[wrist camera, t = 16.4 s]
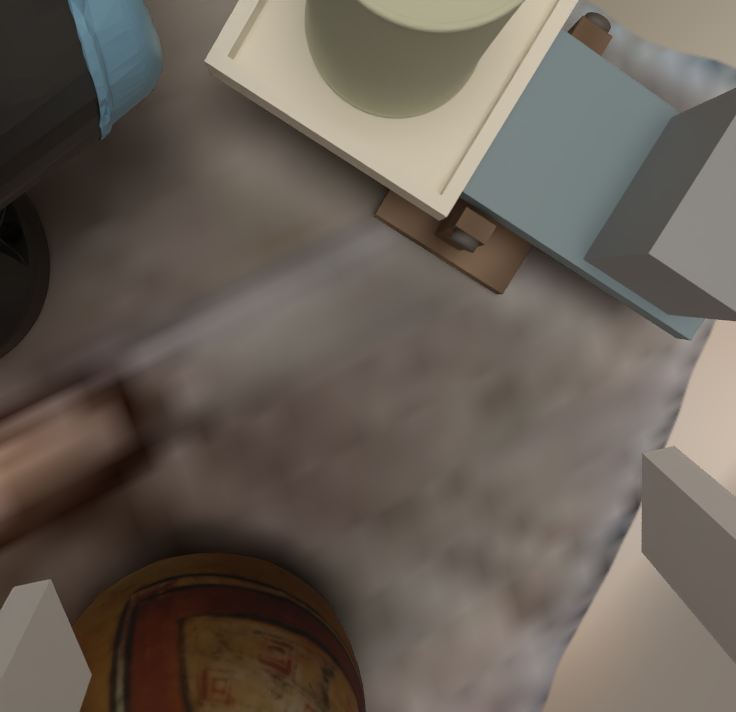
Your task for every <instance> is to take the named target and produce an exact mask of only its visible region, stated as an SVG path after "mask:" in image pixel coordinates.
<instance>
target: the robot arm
mask: <svg viewBox="0 0 736 712" xmlns="http://www.w3.org/2000/svg"><path fill="white" fill-rule="evenodd" d="M162 66H163V55H162V48H161V44H160V40H159V37H158V34H157V31H156V28H155V26H154V23H153V21H152V18H151V16H150V14H149V11H148V9H147V7H146V5H145V2H144V0H0V357H2V356H3V355H5V354H6V353H7V352H9V351H10V350H11V349H12V348H13V347H15V346H16V345H17V344H18V343H19V342H20V341H21V339H22V338H23V337H24V336H25V335H26V334H27V332H28V331H29V330H30V328H31V327H32V325H33V323H34V322H35V320H36V318H37V316H38V314H39V312H40V310H41V308H42V305H43V302H44V299H45V296H46V292H47V287H48V281H49V252H48V246H47V241H46V237H45V233H44V230H43V227H42V224H41V222H40V219H39V217H38V215H37V213H36V211H35V209H34V207H33V206H32V204H31V202H30V201H29V199H28V198H27V196H26V195H25V192H26V191H27V190H29V189H30V188H32V187H33V186H34V185H36V184H37V183H38V182H40V181H41V180H43V179H44V178H45V177H47V176H48V175H49V174H51V173H52V172H54V171H55V170H56V169H58V168H59V167H60V166H62V165H63V164H65V163H66V162H67V161H69V160H70V159H71V158H73V157H74V156H75V155H77V154H78V153H80V152H81V151H82V150H84V149H85V148H86V147H88V146H89V145H91V144H92V143H93V142H95V141H96V140H103V139H104V138H106V135H108V134H109V133H110V132H111V129H112V125H113V124H114V123H115V122H117V121H118V120H119V119H120V118H121V117H122V116H124V115H125V114H126V113H127V112H128V111H130V110H131V109H132V108H133V107H134V106H136V105H137V104H138V103H139V102H140V101H142V100H143V99H144V98H145V97H146V96H148V95H149V94H150V93H151V92H152V91H153V88H154V87H155V85H156V83H157V82H158V77H159V75H160V73H161V71H162ZM642 553H643V554H644V555H645V556H646V557H647V559H648V560H649V561H650V562H651V563H652V564H653V566H654V567H655V568H656V569H657V571H658V572H659V573H660V574H661V575H662V577H663V578H664V579H665V580H666V581H667V582H668V584H669V585H670V586H671V587H672V589H673V590H674V591H675V592H676V593H677V595H678V596H679V597H680V598H681V599H682V600H683V602H684V603H685V604H686V605H687V606H688V608H689V609H690V610H691V611H692V612H693V614H695V616H696V617H697V618H698V620H699V621H700V622H701V623H702V624H703V625H704V627H705V628H706V629H707V630H708V632H709V633H710V634H711V635H712V636H713V638H714V639H715V640H716V641H717V642H718V644H719V645H720V646H721V647H722V648H723V649H724V651H725V652H726V653H727V654H728V655H729V657H730V658H731V659H732V660H733V661H734V663H735V664H736V497H735V496H734V495H733V494H731V493H730V492H729V491H728V490H726V489H725V488H724V487H723V486H722V485H720V484H719V483H718V482H717V481H716V480H715V479H713V478H712V477H711V476H710V475H708V474H707V473H706V472H705V471H704V470H702V469H701V468H700V467H699V466H698V465H696V464H695V463H694V462H693V461H692V460H690V459H689V458H688V457H687V456H686V455H684V454H683V453H682V452H681V451H680V450H678V449H677V448H676V447H675V446H674V447H668V448H664V449H659V450H654V451H650V452H645V453H642ZM91 676H92V674H91V672H90V669H89V667H88V665H87V662H86V660H85V658H84V655H83V653H82V651H81V648H80V646H79V644H78V642H77V639H76V637H75V635H74V632H73V630H72V628H71V625H70V623H69V621H68V618H67V616H66V614H65V611H64V609H63V607H62V604H61V602H60V600H59V597H58V595H57V593H56V590H55V588H54V586H53V584H52V581H51V579H48V580H44V581H39V582H34V583H30V584H25V585H20V586H16V587H13V589H12V591H11V592H10V594H9V596H8V598H7V600H6V601H5V603H4V605H3V607H2V609H1V610H0V712H80V709H81V706H82V703H83V700H84V697H85V694H86V691H87V688H88V685H89V682H90V679H91Z"/></svg>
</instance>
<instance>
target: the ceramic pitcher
mask: <svg viewBox="0 0 736 712" xmlns="http://www.w3.org/2000/svg"><path fill="white" fill-rule="evenodd" d="M71 628H72V630H73V632H74V635H75V637H76V639H77V642H78V644H79V646H80V648H81V651H82V653H83V655H84V658H85V660H86V662H87V665H88V667H89V669H90V672H91V674H92V676H91V679H90V682H89V685H88V688H87V691H86V694H85V697H84V700H83V703H82V706H81V709H80V712H366V710H365V699H364V691H363V684H362V680H361V676H360V672H359V668H358V664H357V661H356V658H355V656H354V653H353V650H352V647H351V644H350V642H349V640H348V637H347V635H346V633H345V631H344V629H343V627H342V625H341V624H340V622H339V620H338V619H337V617H336V615H335V614H334V612H333V611H332V610H331V608H330V607H329V605H328V604H327V603H326V602H325V601H324V599H323V598H322V597H321V596H320V595H319V594H318V593H317V592H316V591H315V590H314V589H313V588H312V587H311V586H309V585H308V584H306V583H305V582H303V581H302V580H300V579H299V578H297V577H296V576H294V575H293V574H291V573H290V572H289V571H286V570H284V569H282V568H280V567H278V566H276V565H274V564H272V563H270V562H268V561H264V560H261V559H258V558H254V557H248V556H243V555H237V554H231V553H196V554H188V555H183V556H177V557H172V558H167V559H163V560H159V561H157V562H155V563H152V564H150V565H148V566H145V567H143V568H141V569H139V570H137V571H135V572H133V573H131V574H129V575H127V576H125V577H124V578H122V579H121V580H119V581H118V582H116V583H115V584H113V585H112V586H110V587H109V588H107V589H106V590H104V591H102V592H101V593H100V594H99V595H98V596H97V598H96V599H95V600H94V601H93V602H92V603H91V604H90V605H89V607H88V608H87V609H86V610H85V611H84V612H83V613H82V614H81V616H80V617H79V618H78V619H77V620H76V621H75V622H74V624H73V625H72V626H71Z"/></svg>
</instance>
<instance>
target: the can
mask: <svg viewBox="0 0 736 712" xmlns="http://www.w3.org/2000/svg"><path fill="white" fill-rule="evenodd" d="M524 1H525V0H306V5H305V20H304V21H305V33H306V39H307V43H308V48H309V51H310V54H311V56H312V59H313V61H314V63H315V66H316V67H317V69H318V71H319V73H320V74H321V76H322V77H323V79H324V80H325V81H326V83H327V84H328V85H329V86H330V87H331V89H332V90H333V91H334V92H335V93H336V94H337V95H339V96H340V97H341V98H342V99H343V100H345V101H346V102H348V103H349V104H351V105H352V106H354V107H356V108H358V109H360V110H362V111H364V112H367V113H369V114H373V115H376V116H381V117H387V118H408V117H414V116H419V115H422V114H425V113H428V112H430V111H433V110H435V109H437V108H438V107H440V106H442V105H444V104H445V103H447V102H448V101H449V100H450V99H452V98H453V97H454V96H455V95H456V94H457V93H458V92H459V91H460V90H461V89H462V88H463V87H464V86H465V84H466V83H467V82H468V80H469V79H470V77H471V76H472V74H473V72H474V71H475V68H476V66H477V64H478V62H479V60H480V58H481V57H482V56H483V54H484V53H485V51H486V50H487V49H488V47H489V46H490V45H491V43H492V42H493V41H494V39H495V38H496V37H497V35H498V34H499V33H500V31H501V30H502V29H503V27H504V26H505V25H506V24H507V22H508V21H509V20H510V18H511V17H512V16H513V15H514V13H515V12H516V11H517V10H518V8H519V7H520V6H521V4H522V3H523V2H524Z"/></svg>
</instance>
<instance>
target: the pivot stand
mask: <svg viewBox="0 0 736 712" xmlns="http://www.w3.org/2000/svg"><path fill="white" fill-rule="evenodd" d="M610 28H611V25H610V23H609V21H608V20H607V19H606V18H605V17H604V16H602V15H600V14H598V13H594V12H590V13H587V14H586V15H585V16H582V17H581V18H580V19H579V20H578V21H577V22H576V23H575V24H574V25H573V27H572V28H571V29H570V30H569V31H568V33H569V34H570V35H572V36H573V37H575V38H576V39H577V40H579V41H580V42H582V43H583V44H584V45H586V46H587V47H589V48H590V49H591V50H593V51H594V52H596V53H597V54H599V55H600V56H601V55H602V53H603V52H604V50H605V48H606V47H607V45H608V43H609V42H610V40H611V39H612V36H611V35H610V34H608V32H609V30H610ZM374 217H375V218H377V219H378V220H380V221H382V222H383V223H385V224H386V225H388V226H390V227H391V228H393V229H394V230H396V231H397V232H399V233H401V234H402V235H404V236H405V237H407V238H409V239H410V240H412V241H413V242H415V243H416V244H418V245H420V246H421V247H423V248H424V249H426V250H428V251H429V252H431V253H432V254H434V255H436V256H437V257H439V258H440V259H442V260H443V261H445V262H447V263H448V264H450V265H451V266H453V267H455V268H456V269H458V270H459V271H461V272H462V273H464V274H466V275H467V276H469V277H470V278H472V279H474V280H475V281H477V282H478V283H480V284H482V285H483V286H485V287H486V288H488V289H489V290H491V291H493V292H494V293H496V294H503V293H504V291H505V289H506V288H507V286H508V285H509V283H510V281H511V280H512V278H513V276H514V275H515V273H516V272H517V270H518V268H519V267H520V265H521V263H522V262H523V260H524V259H525V257H526V255H527V254H528V252H529V250H530V249H531V247H532V246H533V245H532V244H531V243H529V242H528V241H526V240H525V239H523V238H521V237H520V236H518V235H517V234H515V233H514V232H512V231H511V230H509V229H508V228H506V227H505V226H503V225H501V224H500V223H498V222H497V221H495V220H494V219H492V218H491V217H489V216H488V215H486V214H485V213H483V212H481V211H480V210H478V209H477V208H475V207H474V206H472V205H471V204H469V203H468V202H466V201H465V200H463V199H462V198H460V197H459V198H458V199H457V201H456V203H455V204H454V206H453V208H452V209H451V211H450V213H449V214H448V216H447V217H446V218H444V219H442V220H440V221H439V220H437V219H435V218H434V217H432V216H431V215H429V214H428V213H426V212H425V211H423V210H421V209H420V208H418V207H417V206H415V205H414V204H412V203H411V202H409V201H407V200H406V199H404V198H403V197H401V196H400V195H398V194H396V193H395V192H393V191H392V190H389V192H388V193H387V195H386V197H385V198H384V200H383V202H382V203H381V205H380V207H379V208H378V210H377V212H376V213H375V215H374Z"/></svg>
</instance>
